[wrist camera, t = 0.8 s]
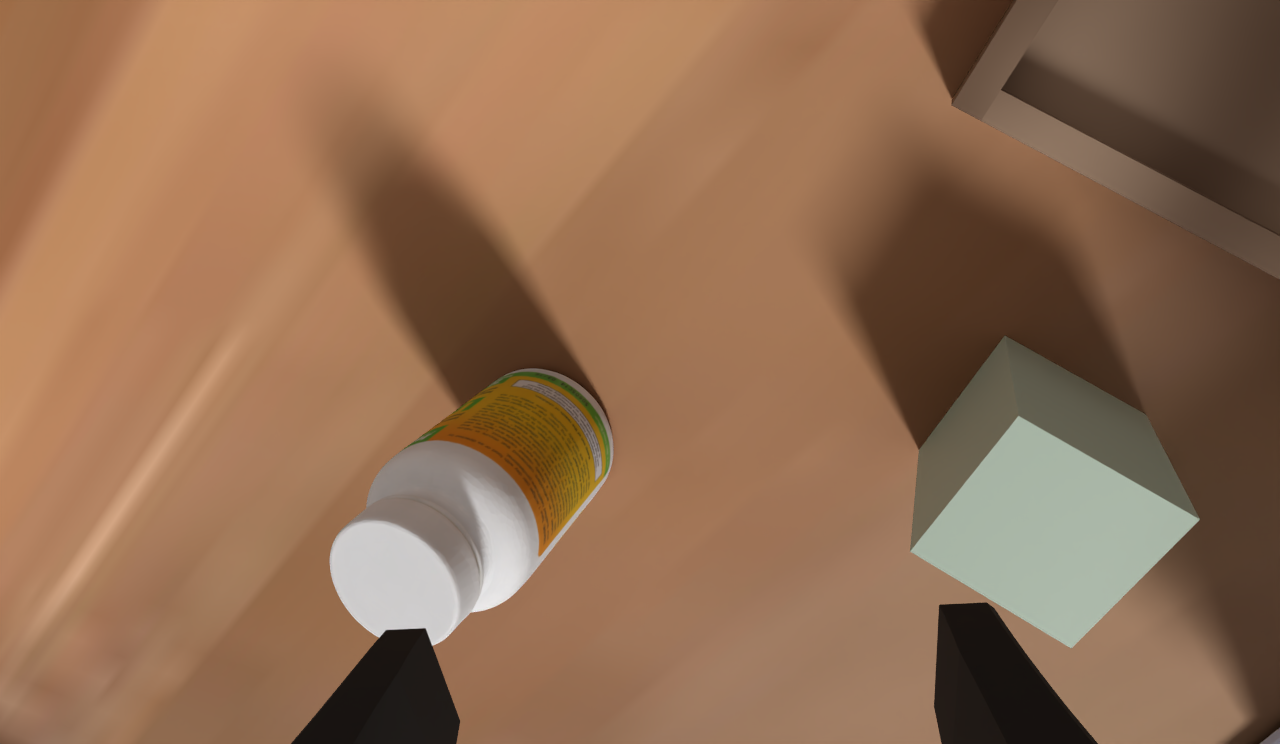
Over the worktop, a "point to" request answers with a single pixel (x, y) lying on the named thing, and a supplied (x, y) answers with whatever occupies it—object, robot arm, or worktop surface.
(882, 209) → the worktop surface
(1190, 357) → the worktop surface
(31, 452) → the worktop surface
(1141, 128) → the tray
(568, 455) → the supplement bottle
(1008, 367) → the sage block
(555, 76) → the worktop surface
